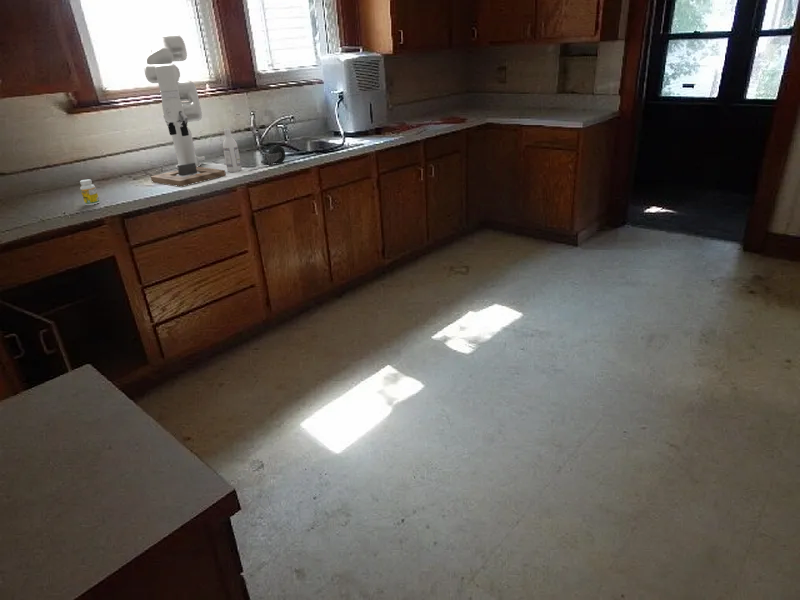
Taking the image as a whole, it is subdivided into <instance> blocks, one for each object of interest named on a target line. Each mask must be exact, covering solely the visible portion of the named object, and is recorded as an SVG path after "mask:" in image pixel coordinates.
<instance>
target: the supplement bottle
mask: <svg viewBox="0 0 800 600" xmlns="http://www.w3.org/2000/svg"><path fill="white" fill-rule="evenodd" d="M92 181H93V180H92V179H81V180H80V181H79V183H80V185H81V186H80V187H79V188H80V192H81V196H82V199H83V202H84V205H85V206H95V205H94V204H96V205H98V204H97V203H99V204H100V203H101V202H100V201H101V200H100V198H99V194H98V192H97V188H96V186H95V184H92V183H93V182H92Z"/></svg>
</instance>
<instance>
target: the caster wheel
mask: <svg viewBox="0 0 800 600" xmlns="http://www.w3.org/2000/svg"><path fill="white" fill-rule="evenodd" d="M285 159H286V151H285V149H284V148H283V147H282V146H281V145H279V144H275V145H274V144H273V145H272V146H271V147H270V148H269V150H268V152H267V153H264V160H261V161H260V163H261V164H265V166H267V165H273V166H274V164H275V163H276V165H277V163H280V164H282V163H284V161H285ZM281 162H282V163H281Z"/></svg>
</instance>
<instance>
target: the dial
mask: <svg viewBox="0 0 800 600" xmlns="http://www.w3.org/2000/svg"><path fill="white" fill-rule="evenodd" d="M176 165H177V168H176V169H177V170H178V173H179V174H177V175H176V176H178V177H187V176H192V175H196V174H200V172H197V169H196V165H195V163H188V164H182V165H178V164H176Z"/></svg>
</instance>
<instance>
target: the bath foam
mask: <svg viewBox="0 0 800 600" xmlns="http://www.w3.org/2000/svg"><path fill="white" fill-rule="evenodd" d="M223 133H224V139H223V141H222V150H223V154H224V160H225V161H224V162H225V165H226V166H225V167H226V170H227V172H228V173H237V171H238V172H241V171H242V170H243V168H242V164H241V163H242V162H241V156H240V152H239V147H238V146H239V145H238V143H237V141H236V140H235V139H234V137H233V136H232V131H231V128H224V129H223Z"/></svg>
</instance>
